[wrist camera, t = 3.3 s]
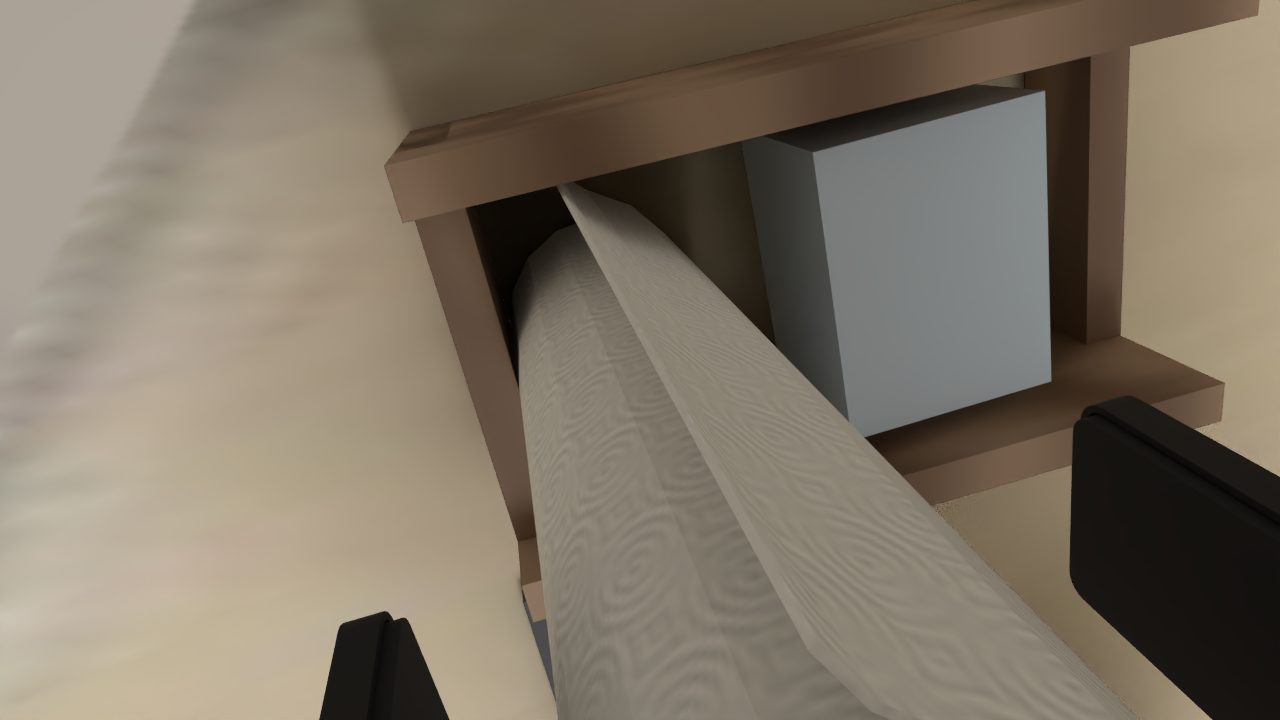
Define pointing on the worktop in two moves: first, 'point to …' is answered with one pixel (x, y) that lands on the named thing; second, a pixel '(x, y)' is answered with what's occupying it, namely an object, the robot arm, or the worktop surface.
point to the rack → (809, 93)
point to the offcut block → (909, 252)
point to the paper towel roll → (740, 519)
